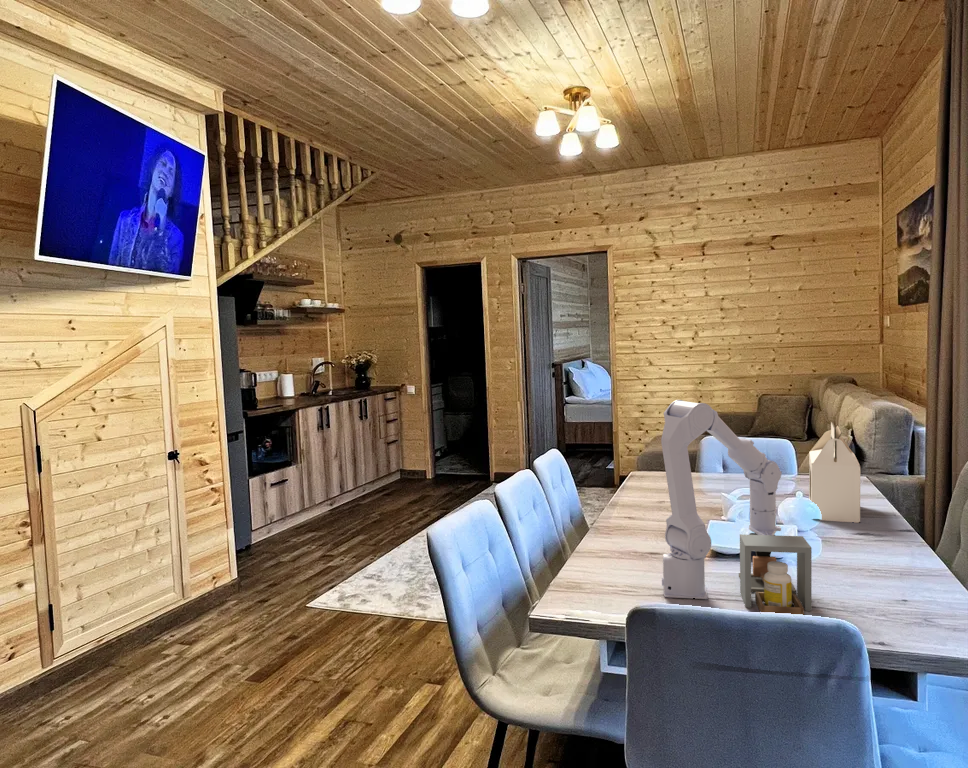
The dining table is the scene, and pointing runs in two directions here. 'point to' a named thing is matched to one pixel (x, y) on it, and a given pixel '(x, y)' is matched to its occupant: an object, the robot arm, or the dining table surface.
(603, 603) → the dining table surface
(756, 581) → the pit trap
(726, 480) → the dining table surface
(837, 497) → the gable box
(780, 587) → the supplement bottle
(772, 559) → the sled
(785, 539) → the tunnel
